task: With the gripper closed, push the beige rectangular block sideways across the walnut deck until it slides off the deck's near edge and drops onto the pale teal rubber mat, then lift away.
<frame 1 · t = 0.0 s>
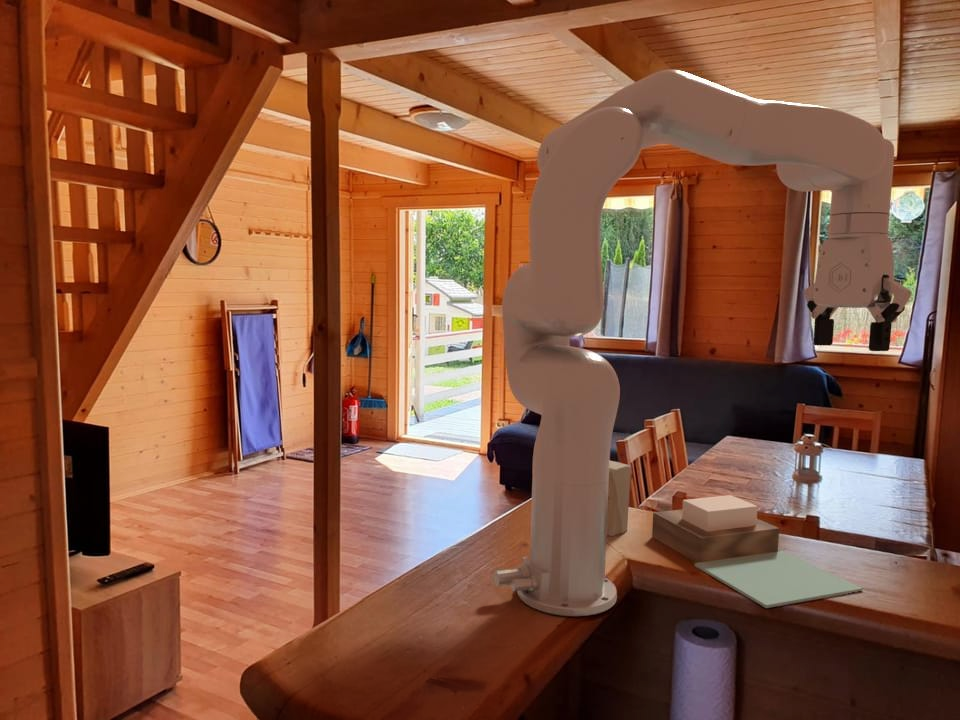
hand: (849, 347, 103), 31 cm above the counter, fingers open, 9 cm apart
deck: (713, 545, 109), on the counter
box: (608, 531, 115), on the counter
beige rectangular block: (719, 512, 107), point 5 cm above the counter, touching deck
mat: (775, 578, 97), on the counter
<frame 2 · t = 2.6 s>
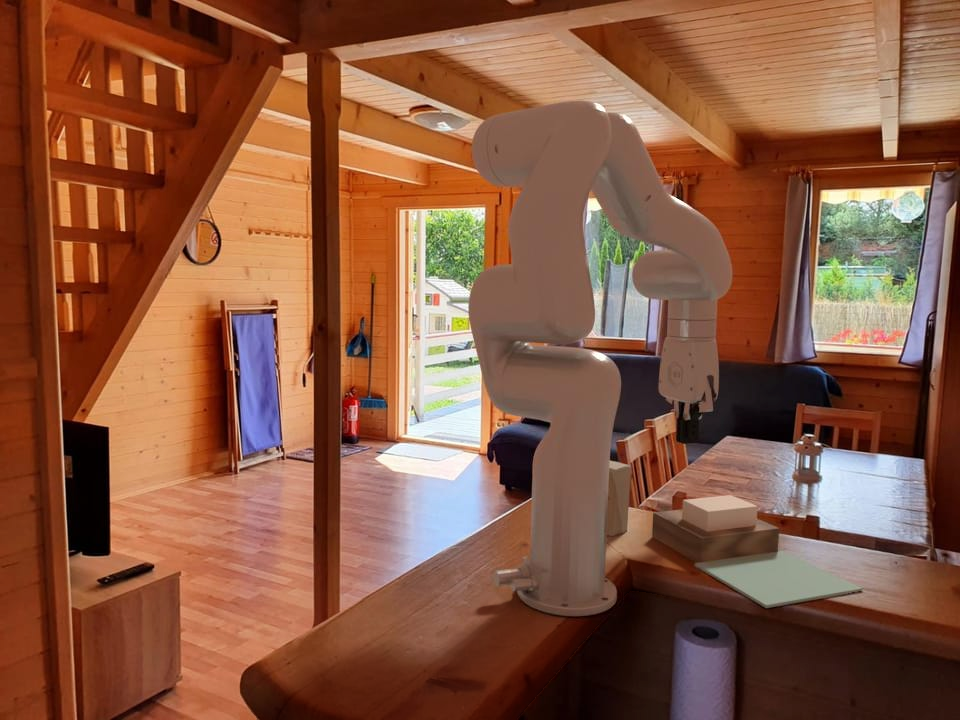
hand: (686, 442, 115), 14 cm above the counter, fingers closed
nothing on the counter moved.
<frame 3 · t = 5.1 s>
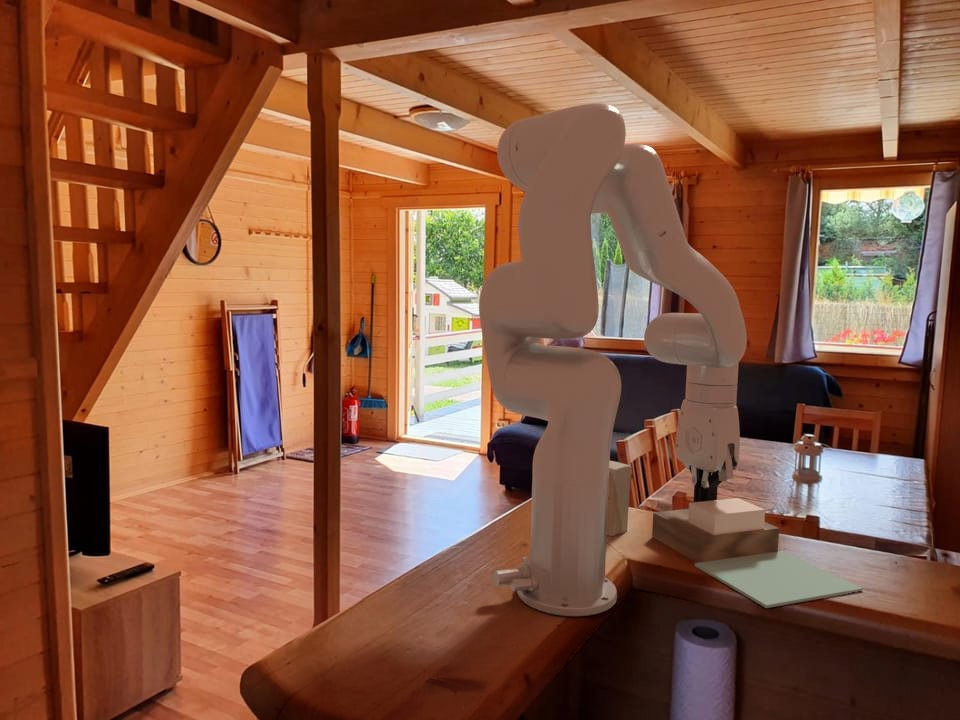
hand: (704, 509, 111), 5 cm above the counter, fingers closed
beige rectangular block: (726, 515, 106), point 6 cm above the counter, touching deck
everything else where it was.
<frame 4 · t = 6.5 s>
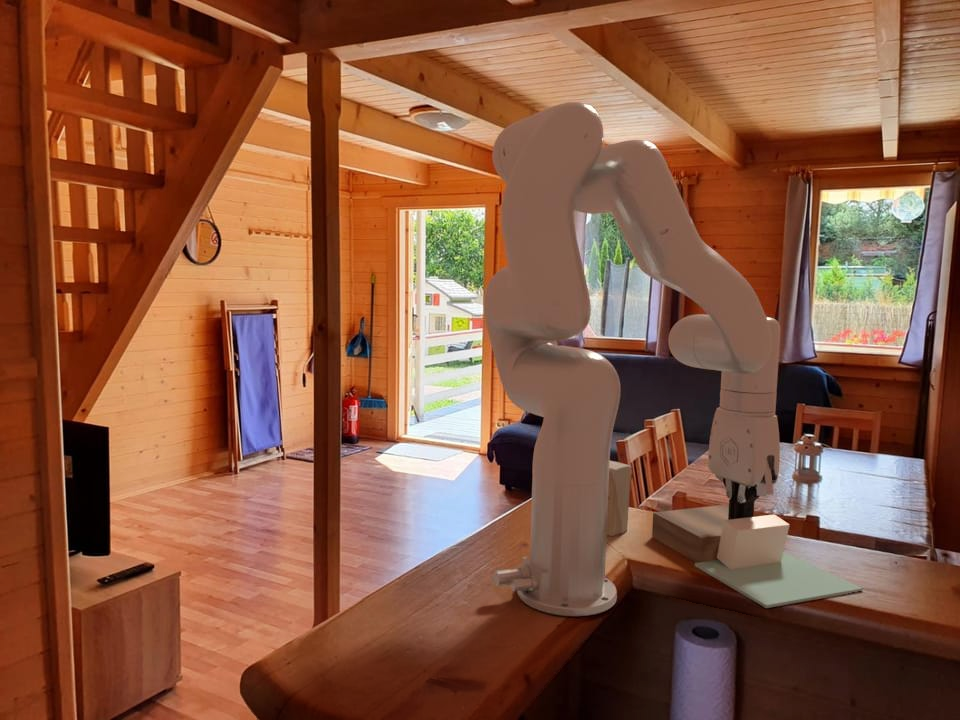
hand: (740, 526, 103), 5 cm above the counter, fingers closed
beige rectangular block: (752, 541, 101), point 4 cm above the counter, tilted 101°, touching gripper, mat
everything else where it was.
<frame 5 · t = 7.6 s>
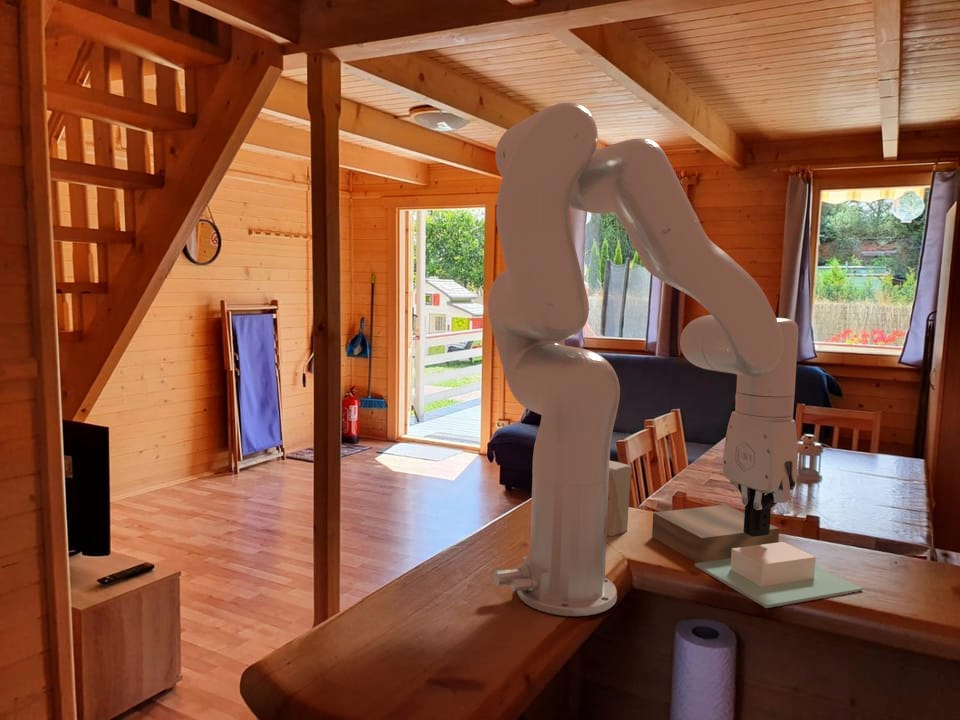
hand: (756, 533, 100), 5 cm above the counter, fingers closed
beige rectangular block: (772, 563, 97), point 2 cm above the counter, tilted 180°, touching mat
everything else where it was.
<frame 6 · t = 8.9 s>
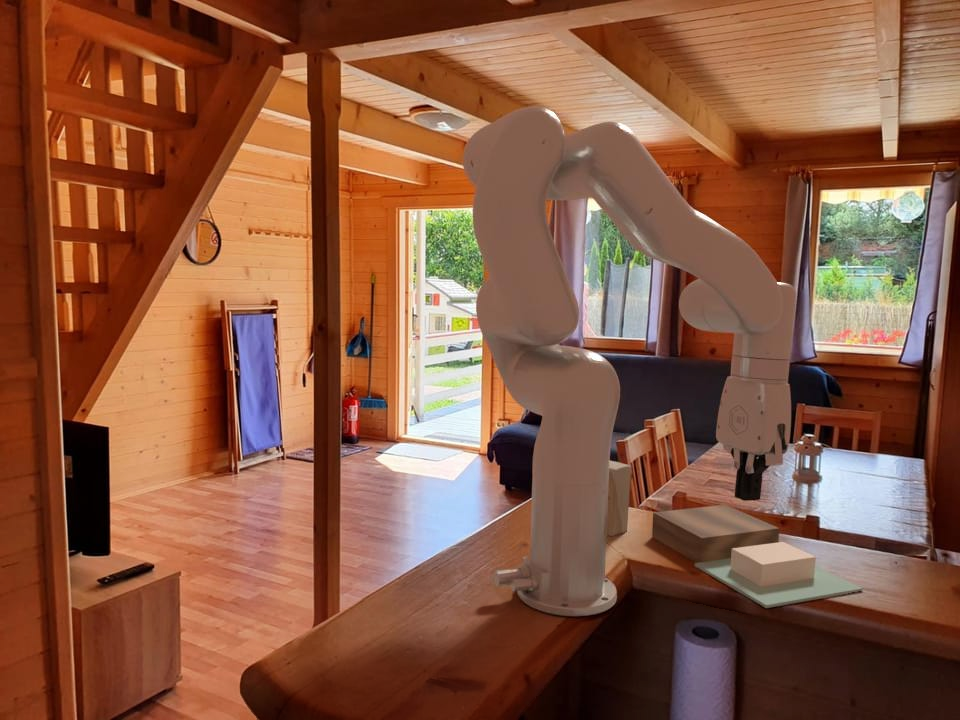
hand: (747, 498, 100), 10 cm above the counter, fingers closed
nothing on the counter moved.
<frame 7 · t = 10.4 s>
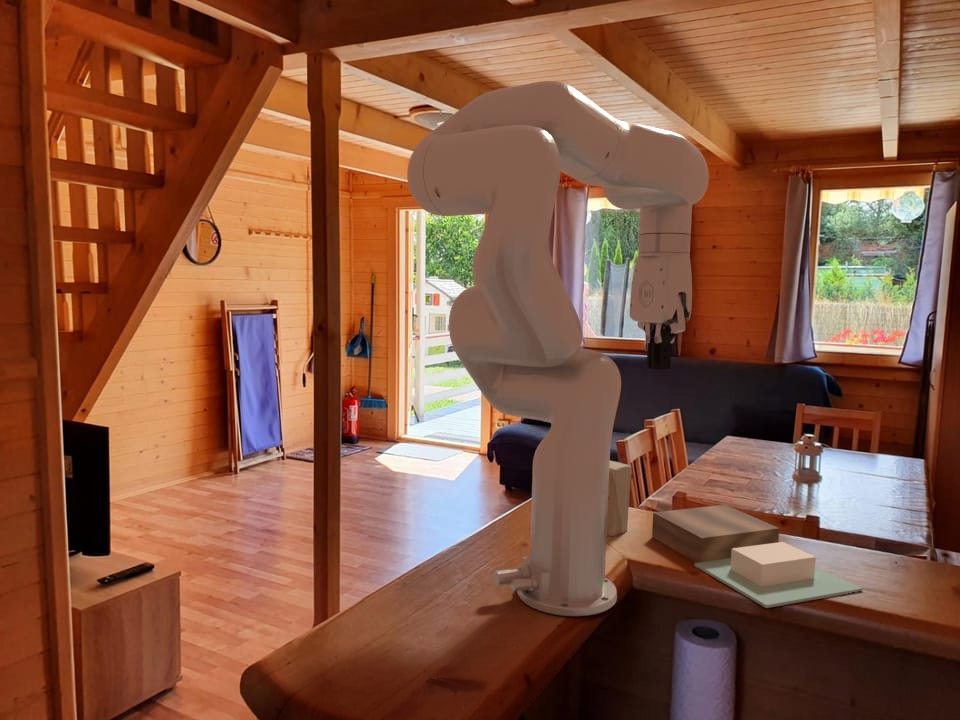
hand: (658, 368, 108), 27 cm above the counter, fingers closed
nothing on the counter moved.
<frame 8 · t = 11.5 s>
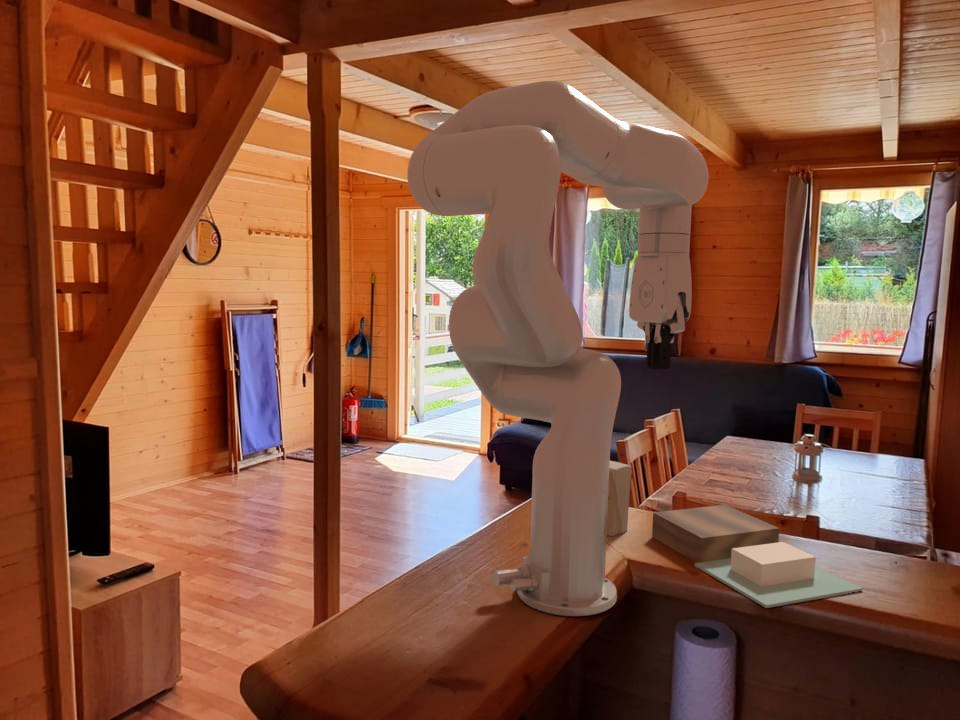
hand: (658, 368, 108), 27 cm above the counter, fingers closed
nothing on the counter moved.
at the end: beige rectangular block point 1.9 cm above the counter; beige rectangular block inside the target area (0.9 cm from its centre), point 1.9 cm above the counter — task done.
